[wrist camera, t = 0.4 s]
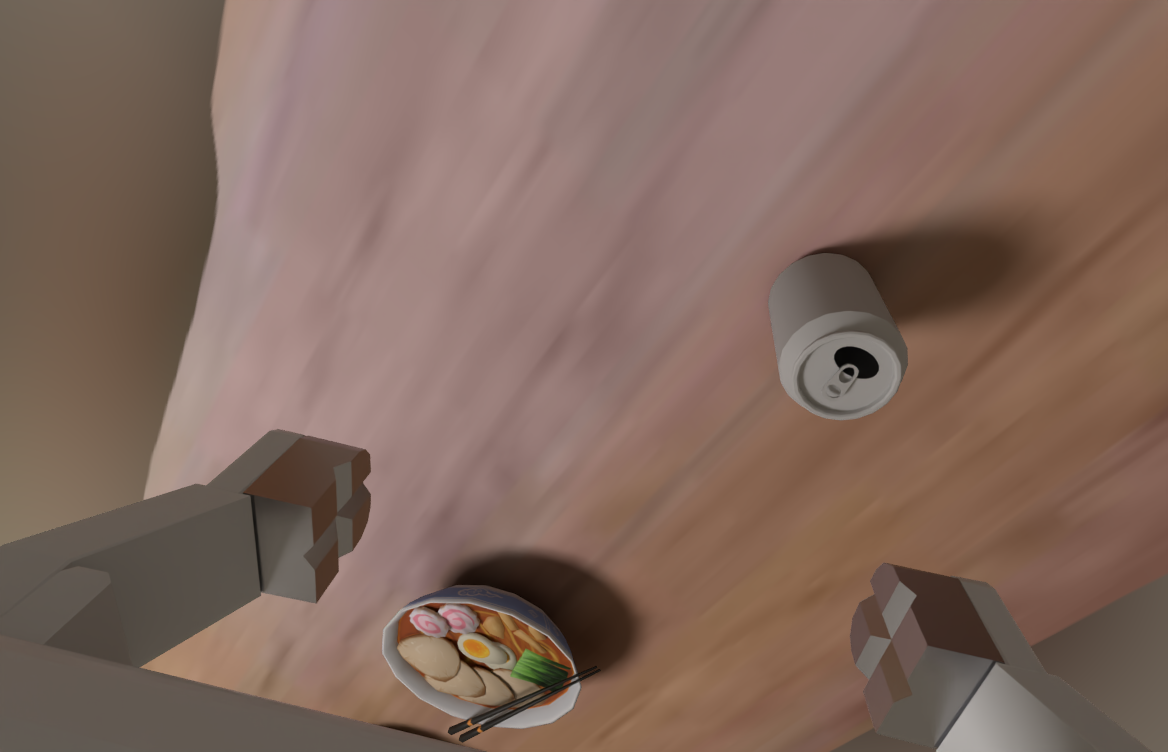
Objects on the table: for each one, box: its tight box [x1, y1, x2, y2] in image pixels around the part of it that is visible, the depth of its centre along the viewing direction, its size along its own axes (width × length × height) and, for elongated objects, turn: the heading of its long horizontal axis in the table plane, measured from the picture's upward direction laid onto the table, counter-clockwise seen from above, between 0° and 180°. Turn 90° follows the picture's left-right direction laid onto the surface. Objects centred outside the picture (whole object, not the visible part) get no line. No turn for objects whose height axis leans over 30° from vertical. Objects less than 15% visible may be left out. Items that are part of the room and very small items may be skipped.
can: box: [768, 253, 908, 420], centre depth 42 cm, size 8×8×12 cm
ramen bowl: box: [382, 585, 601, 742], centre depth 71 cm, size 25×23×8 cm
